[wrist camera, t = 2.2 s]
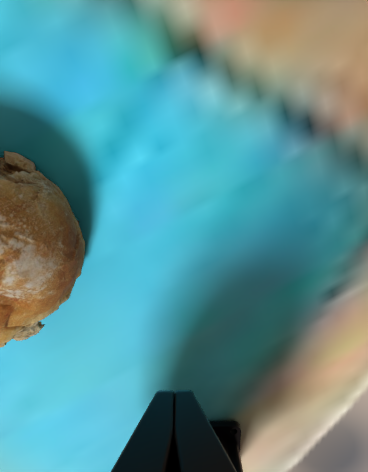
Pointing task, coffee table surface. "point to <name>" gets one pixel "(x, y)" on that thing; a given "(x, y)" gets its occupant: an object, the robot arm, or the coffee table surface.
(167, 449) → the robot arm
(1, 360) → the coffee table surface
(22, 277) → the bread roll
